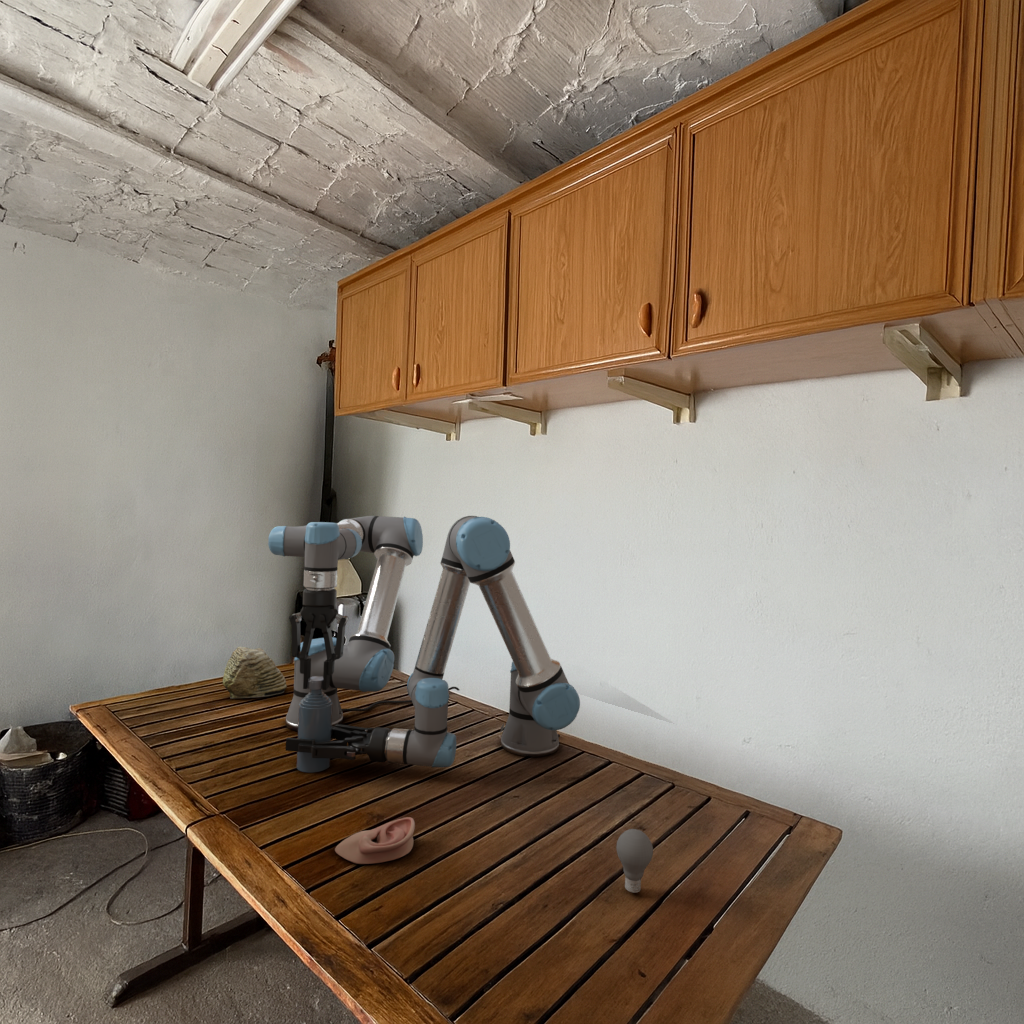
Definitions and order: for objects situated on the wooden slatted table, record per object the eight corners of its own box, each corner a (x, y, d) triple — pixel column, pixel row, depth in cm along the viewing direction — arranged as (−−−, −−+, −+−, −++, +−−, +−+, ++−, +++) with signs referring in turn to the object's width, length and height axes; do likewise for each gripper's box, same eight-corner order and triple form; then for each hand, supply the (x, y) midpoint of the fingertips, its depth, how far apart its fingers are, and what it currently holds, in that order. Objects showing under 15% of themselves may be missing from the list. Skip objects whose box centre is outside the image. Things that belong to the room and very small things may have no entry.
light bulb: (610, 879, 108) (613, 822, 108) (644, 879, 109) (647, 822, 109) (619, 902, 102) (622, 840, 102) (655, 901, 103) (658, 840, 103)
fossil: (218, 695, 195) (220, 647, 195) (278, 685, 208) (279, 640, 207) (228, 703, 189) (230, 653, 188) (289, 692, 201) (290, 645, 201)
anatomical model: (327, 836, 111) (356, 806, 122) (326, 858, 111) (355, 826, 122) (398, 848, 108) (421, 815, 119) (397, 871, 108) (420, 836, 119)
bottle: (332, 769, 147) (335, 684, 147) (298, 774, 144) (301, 687, 143) (327, 757, 154) (330, 676, 153) (294, 761, 151) (297, 678, 150)
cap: (321, 690, 146) (322, 681, 146) (304, 689, 146) (305, 680, 146) (327, 685, 150) (328, 676, 150) (311, 684, 151) (311, 675, 150)
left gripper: (278, 588, 144) (274, 690, 145) (352, 592, 144) (348, 694, 145) (289, 584, 152) (286, 681, 152) (360, 587, 152) (356, 684, 152)
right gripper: (374, 780, 137) (273, 771, 139) (400, 744, 157) (311, 737, 159) (375, 746, 137) (274, 737, 139) (401, 714, 157) (312, 707, 159)
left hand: (316, 687), depth 148 cm, fingers closed on cap, 4 cm apart
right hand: (294, 737), depth 149 cm, fingers closed on bottle, 8 cm apart
